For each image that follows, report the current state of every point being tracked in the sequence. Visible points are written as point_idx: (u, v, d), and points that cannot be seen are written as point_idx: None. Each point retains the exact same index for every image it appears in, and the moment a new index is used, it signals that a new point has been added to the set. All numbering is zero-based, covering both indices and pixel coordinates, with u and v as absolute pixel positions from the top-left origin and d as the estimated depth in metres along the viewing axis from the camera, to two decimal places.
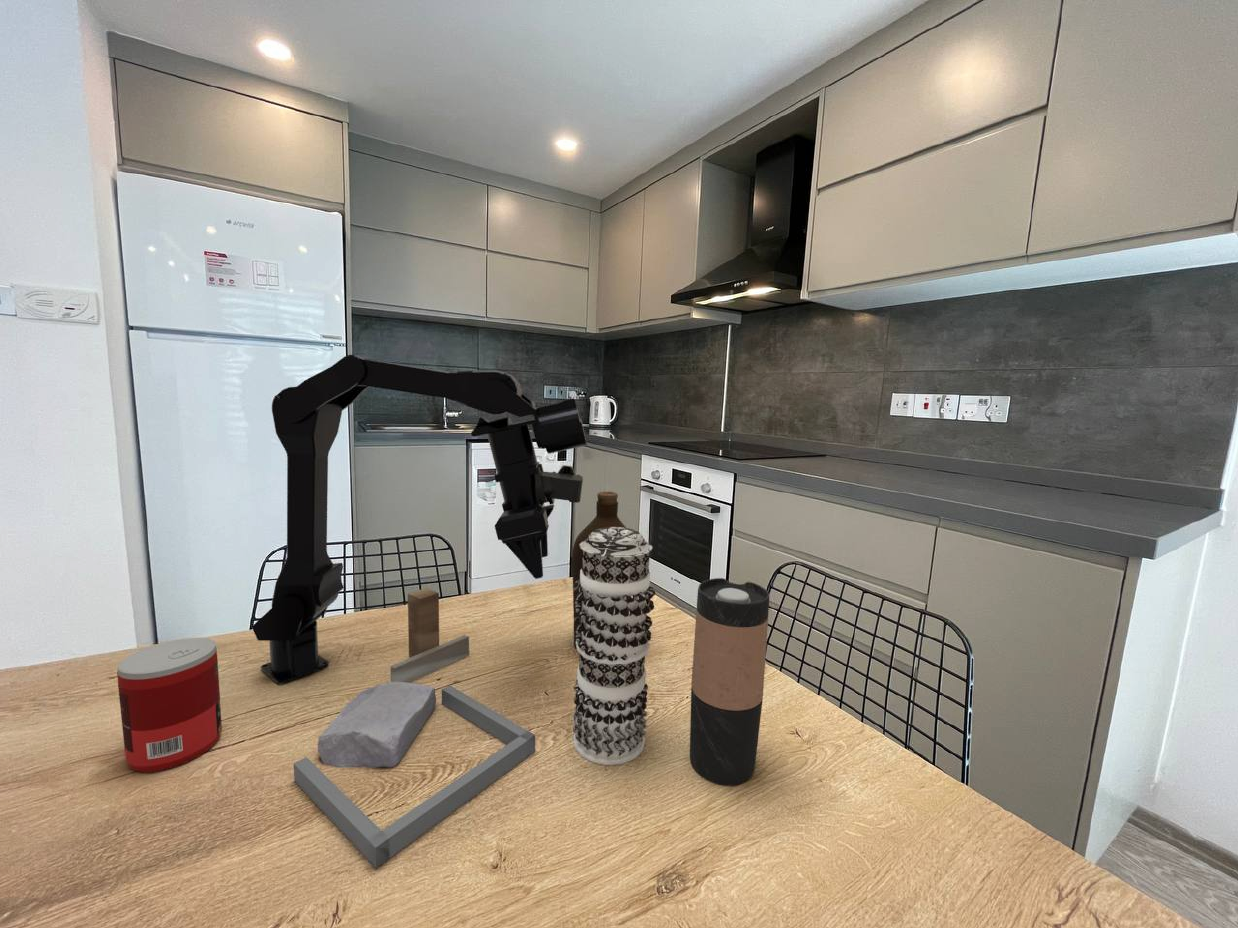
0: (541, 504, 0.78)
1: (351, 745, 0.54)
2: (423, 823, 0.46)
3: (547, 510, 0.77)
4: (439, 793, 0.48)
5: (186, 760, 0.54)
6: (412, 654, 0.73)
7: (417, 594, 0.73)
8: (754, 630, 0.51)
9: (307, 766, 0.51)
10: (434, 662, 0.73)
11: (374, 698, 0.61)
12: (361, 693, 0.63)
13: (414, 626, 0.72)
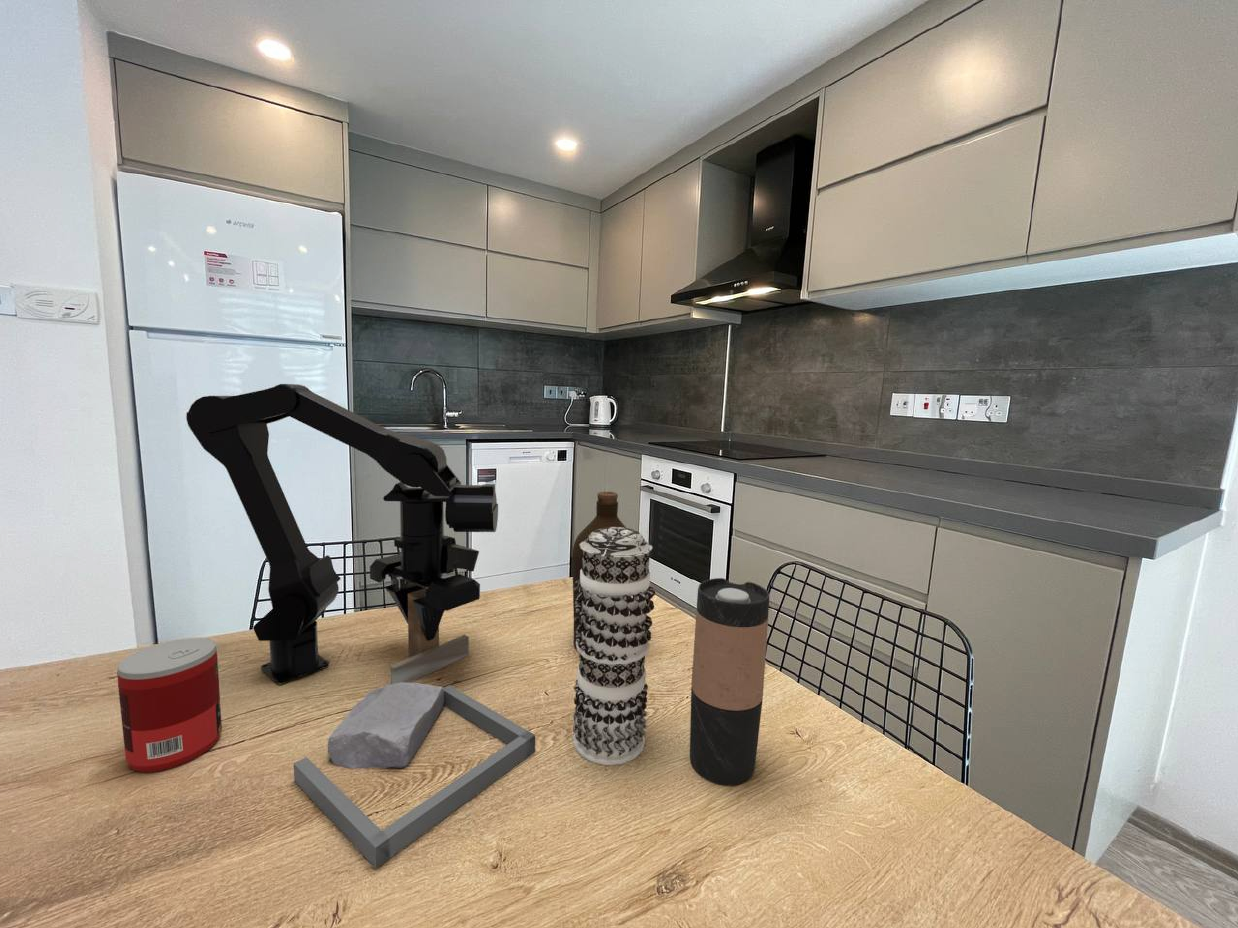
0: None
1: (361, 746, 0.54)
2: (423, 823, 0.46)
3: None
4: (439, 793, 0.48)
5: (186, 760, 0.54)
6: (412, 654, 0.73)
7: (417, 594, 0.73)
8: (754, 630, 0.51)
9: (307, 766, 0.51)
10: (434, 662, 0.73)
11: (383, 698, 0.61)
12: (369, 694, 0.63)
13: (414, 626, 0.72)
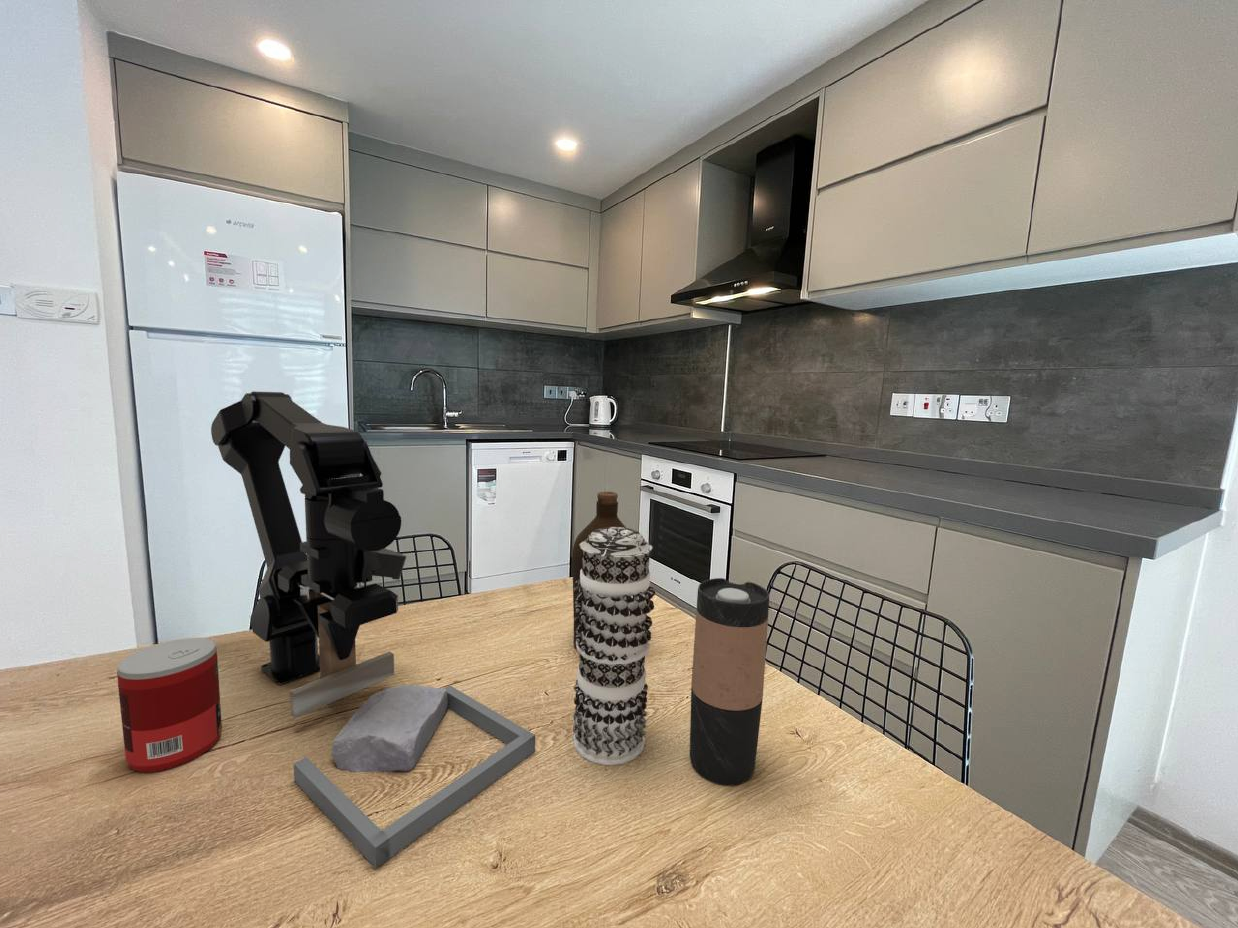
0: None
1: (366, 750, 0.54)
2: (423, 823, 0.46)
3: None
4: (439, 793, 0.48)
5: (186, 760, 0.54)
6: (323, 675, 0.64)
7: (328, 606, 0.63)
8: (754, 630, 0.51)
9: (307, 766, 0.51)
10: (348, 684, 0.63)
11: (386, 701, 0.61)
12: (372, 697, 0.62)
13: (325, 643, 0.63)
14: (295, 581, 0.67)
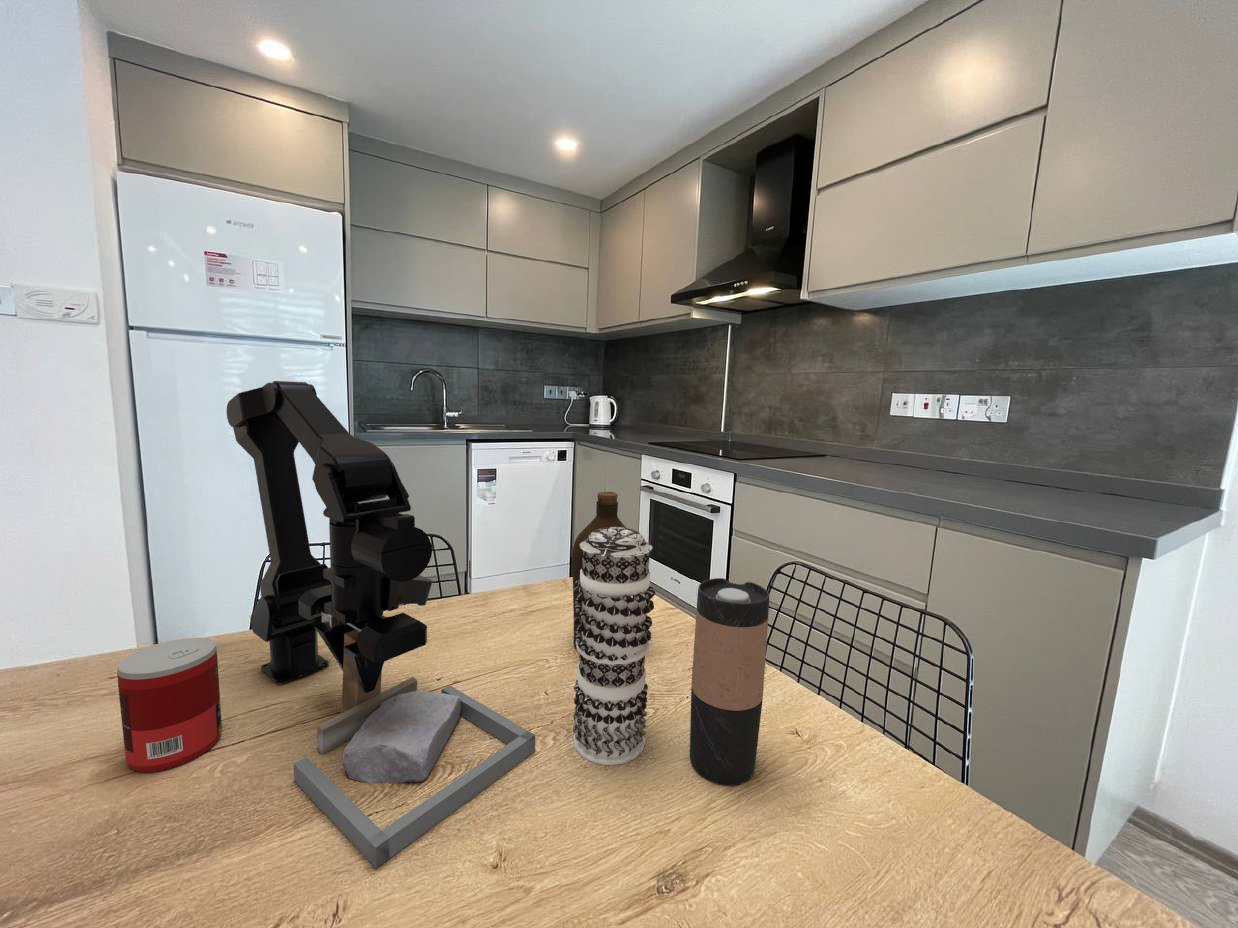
0: None
1: (378, 759, 0.52)
2: (423, 823, 0.46)
3: None
4: (439, 793, 0.48)
5: (186, 760, 0.54)
6: (346, 704, 0.61)
7: (357, 635, 0.59)
8: (754, 630, 0.51)
9: (307, 766, 0.51)
10: None
11: (398, 708, 0.59)
12: (384, 703, 0.61)
13: (351, 673, 0.59)
14: (316, 607, 0.64)
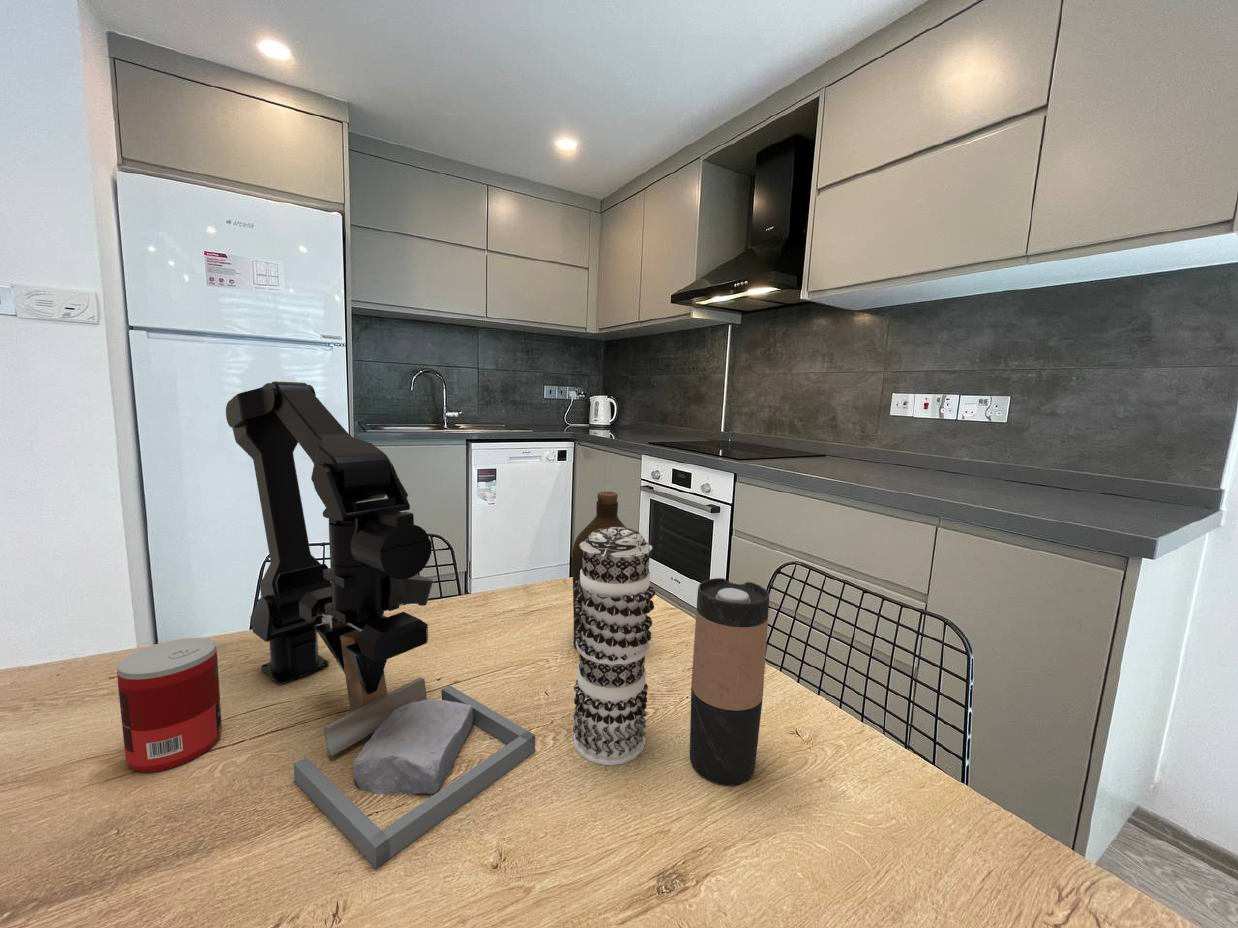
0: None
1: (389, 770, 0.51)
2: (423, 823, 0.46)
3: None
4: (439, 793, 0.48)
5: (186, 760, 0.54)
6: (354, 710, 0.60)
7: (352, 634, 0.60)
8: (754, 630, 0.51)
9: (307, 766, 0.51)
10: (382, 715, 0.60)
11: (410, 717, 0.58)
12: (395, 711, 0.60)
13: (352, 674, 0.59)
14: (317, 609, 0.64)
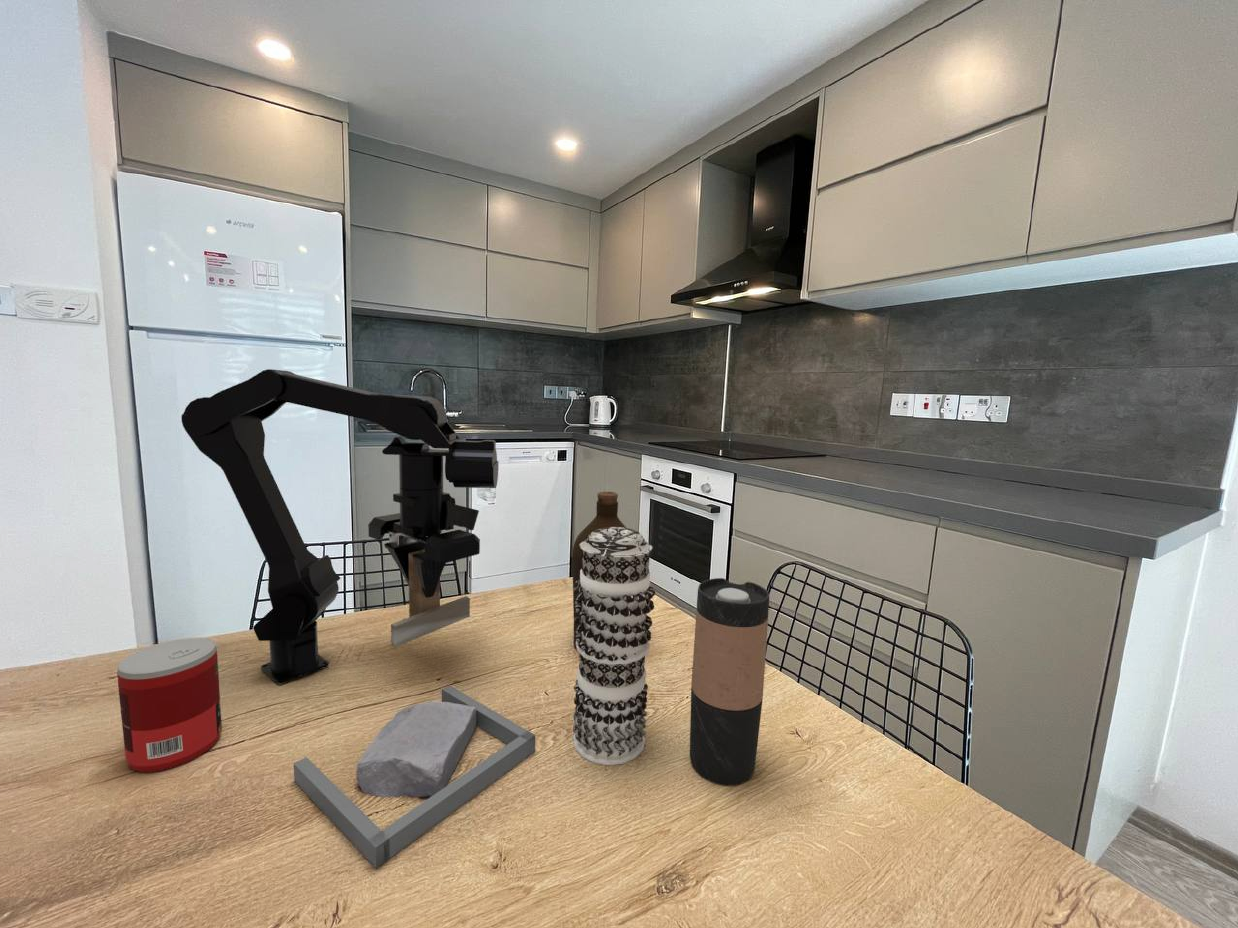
0: None
1: (392, 773, 0.51)
2: (423, 823, 0.46)
3: None
4: (439, 793, 0.48)
5: (186, 760, 0.54)
6: (413, 614, 0.73)
7: None
8: (754, 630, 0.51)
9: (307, 766, 0.51)
10: (435, 622, 0.73)
11: (413, 719, 0.57)
12: (398, 713, 0.59)
13: (415, 586, 0.72)
14: None
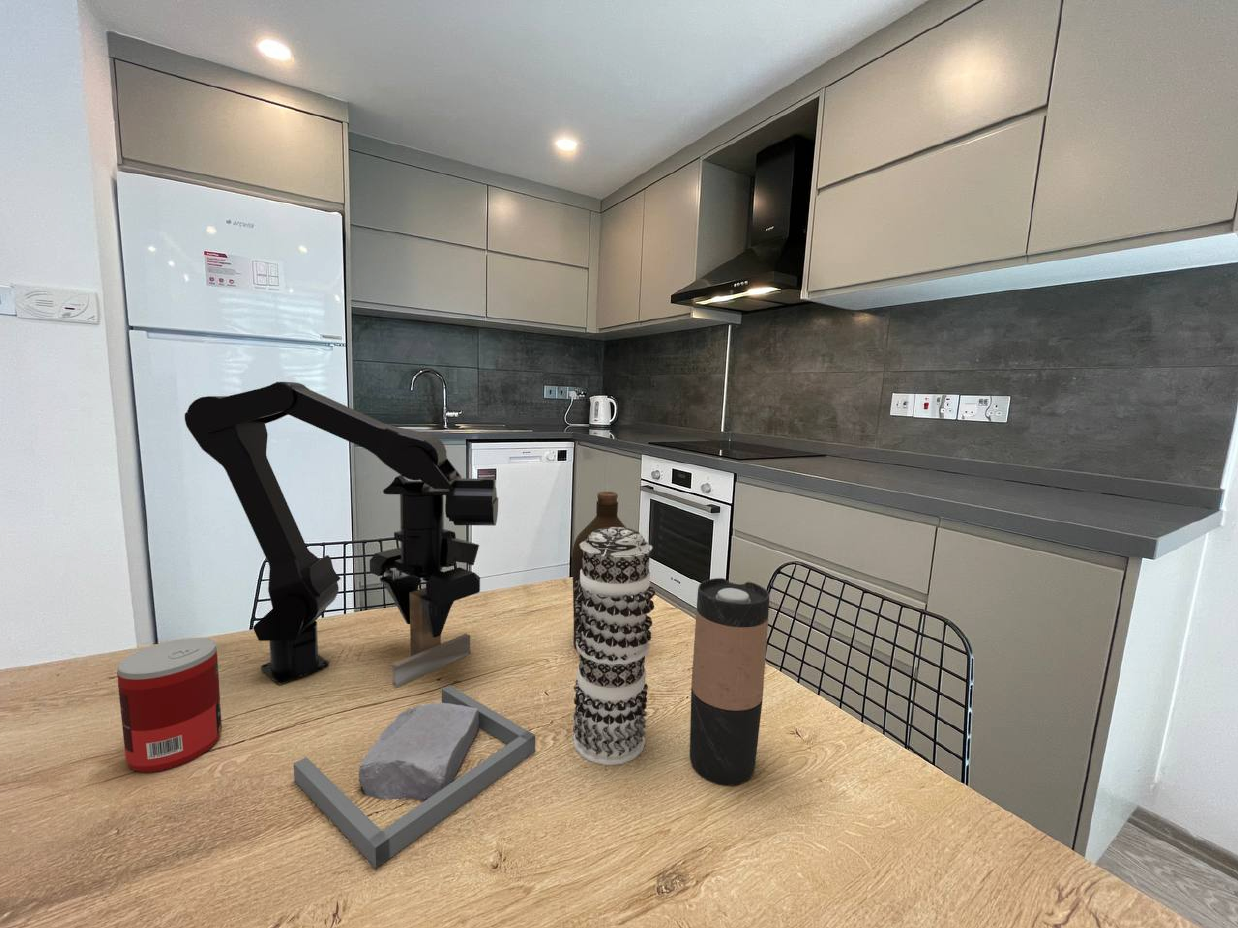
0: None
1: (395, 775, 0.50)
2: (423, 823, 0.46)
3: None
4: (439, 793, 0.48)
5: (186, 760, 0.54)
6: (414, 653, 0.74)
7: (419, 593, 0.73)
8: (754, 630, 0.51)
9: (307, 766, 0.51)
10: (436, 660, 0.73)
11: (415, 721, 0.57)
12: (400, 715, 0.59)
13: (416, 625, 0.73)
14: None
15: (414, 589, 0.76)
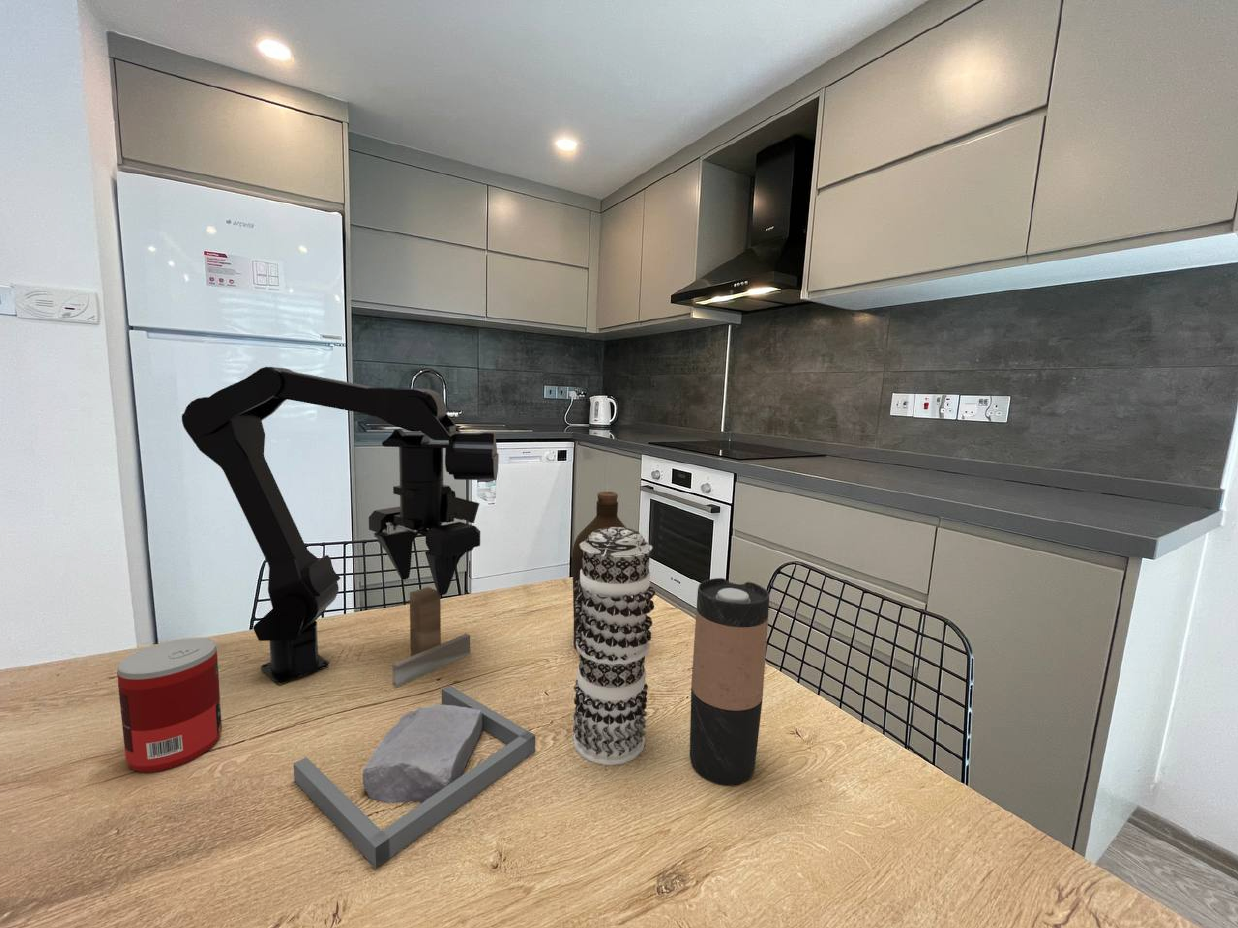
0: None
1: (399, 778, 0.50)
2: (423, 823, 0.46)
3: None
4: (439, 793, 0.48)
5: (186, 760, 0.54)
6: (414, 653, 0.74)
7: (419, 593, 0.73)
8: (754, 630, 0.51)
9: (307, 766, 0.51)
10: (436, 660, 0.73)
11: (419, 723, 0.57)
12: (403, 717, 0.59)
13: (416, 625, 0.73)
14: None
15: (408, 545, 0.76)
